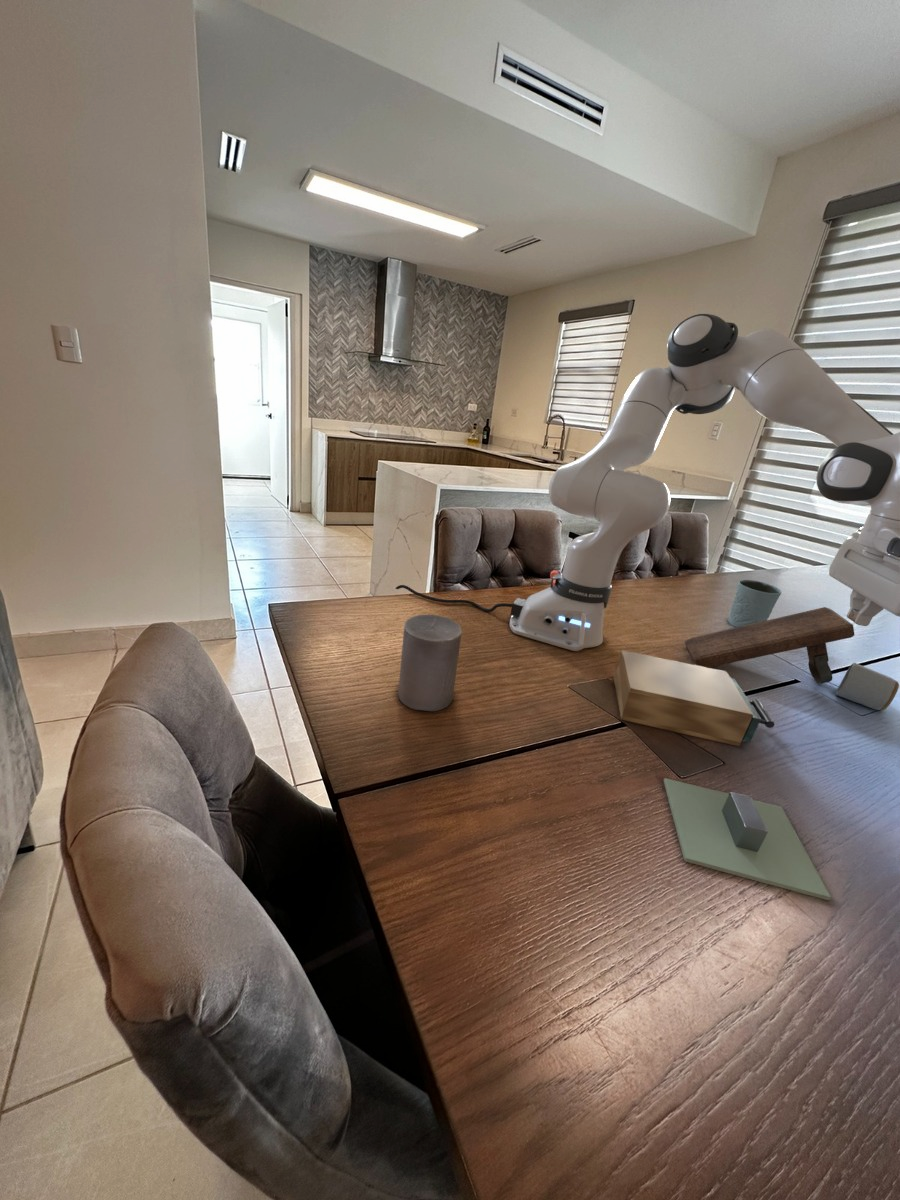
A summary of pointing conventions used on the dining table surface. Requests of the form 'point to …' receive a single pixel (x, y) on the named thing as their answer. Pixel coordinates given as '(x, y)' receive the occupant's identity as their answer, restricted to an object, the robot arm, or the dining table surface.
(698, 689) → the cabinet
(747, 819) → the slate gray brick
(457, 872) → the dining table surface
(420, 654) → the pillar candle
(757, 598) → the teal plant pot
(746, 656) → the small wooden bench
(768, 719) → the drawer
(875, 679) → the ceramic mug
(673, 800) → the mat
